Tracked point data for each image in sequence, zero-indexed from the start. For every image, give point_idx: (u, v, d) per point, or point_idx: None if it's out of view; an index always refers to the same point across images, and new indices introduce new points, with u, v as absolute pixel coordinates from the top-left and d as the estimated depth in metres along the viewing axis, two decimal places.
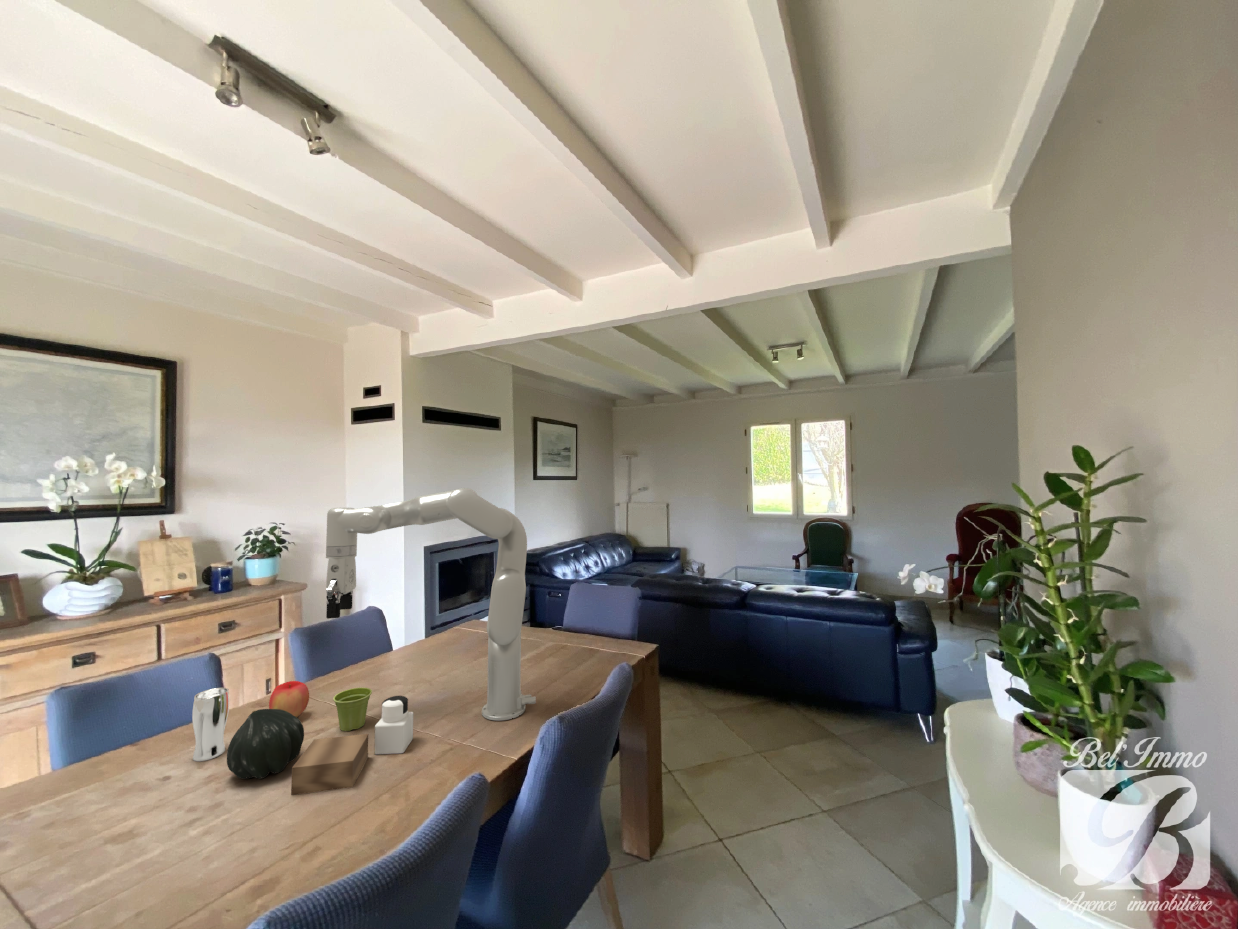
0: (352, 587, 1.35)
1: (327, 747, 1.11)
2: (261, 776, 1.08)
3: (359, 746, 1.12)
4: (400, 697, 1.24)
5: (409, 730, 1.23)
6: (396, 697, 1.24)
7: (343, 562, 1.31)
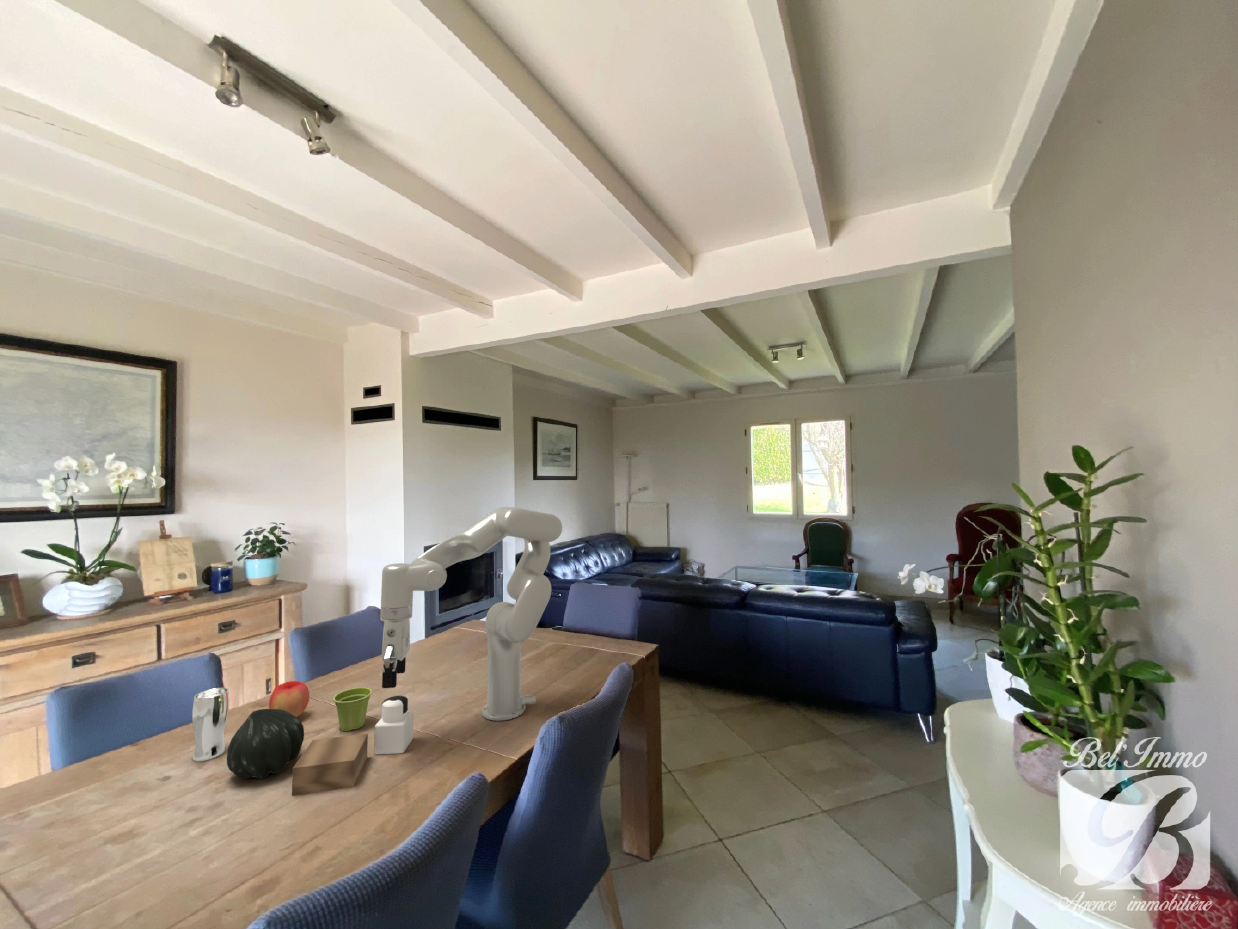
0: (407, 651, 1.25)
1: (327, 747, 1.11)
2: (261, 776, 1.08)
3: (359, 745, 1.12)
4: (400, 697, 1.24)
5: (409, 730, 1.23)
6: (396, 697, 1.24)
7: (400, 626, 1.20)
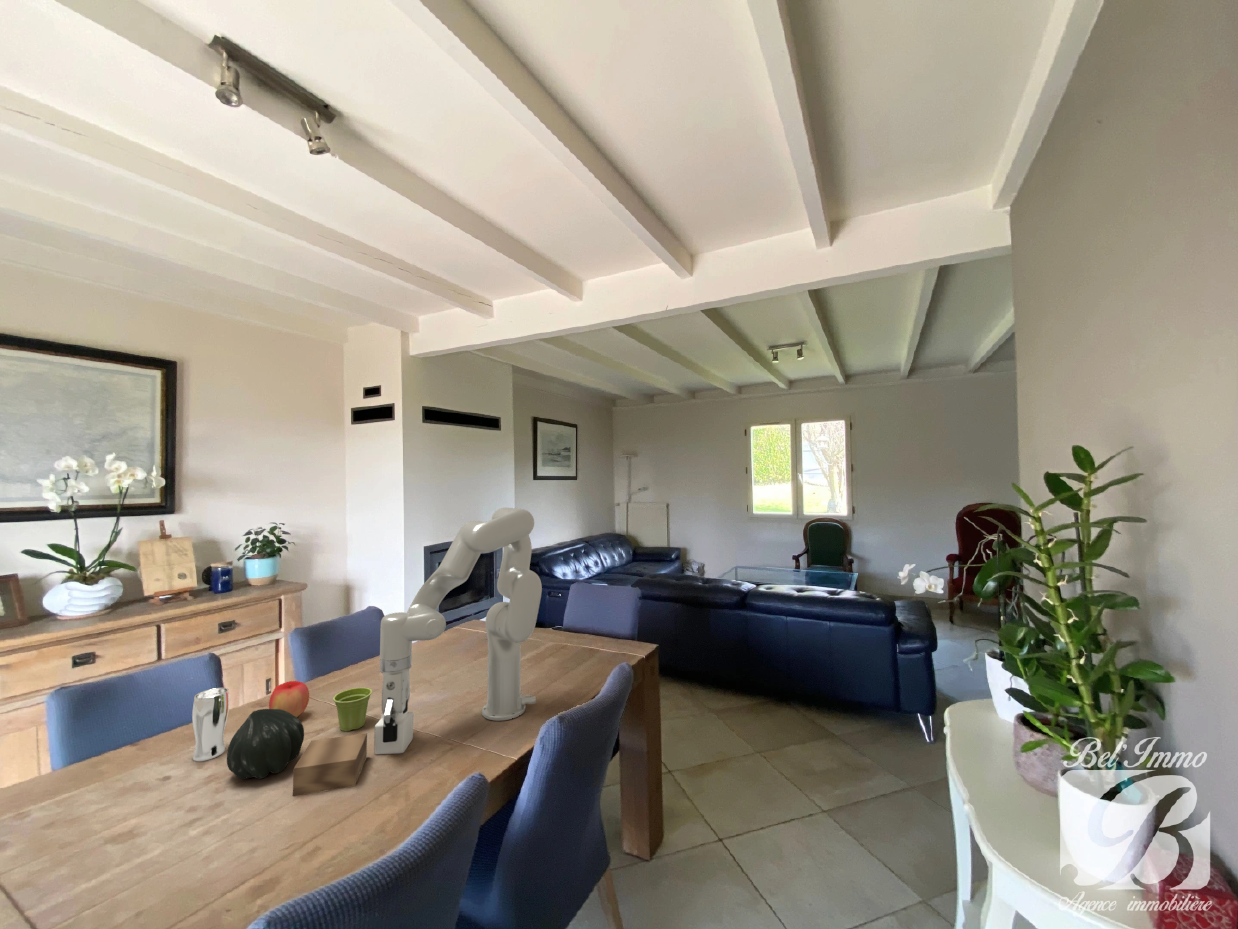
0: None
1: (326, 748, 1.11)
2: (261, 776, 1.08)
3: (359, 745, 1.12)
4: None
5: (409, 730, 1.23)
6: None
7: (400, 678, 1.19)
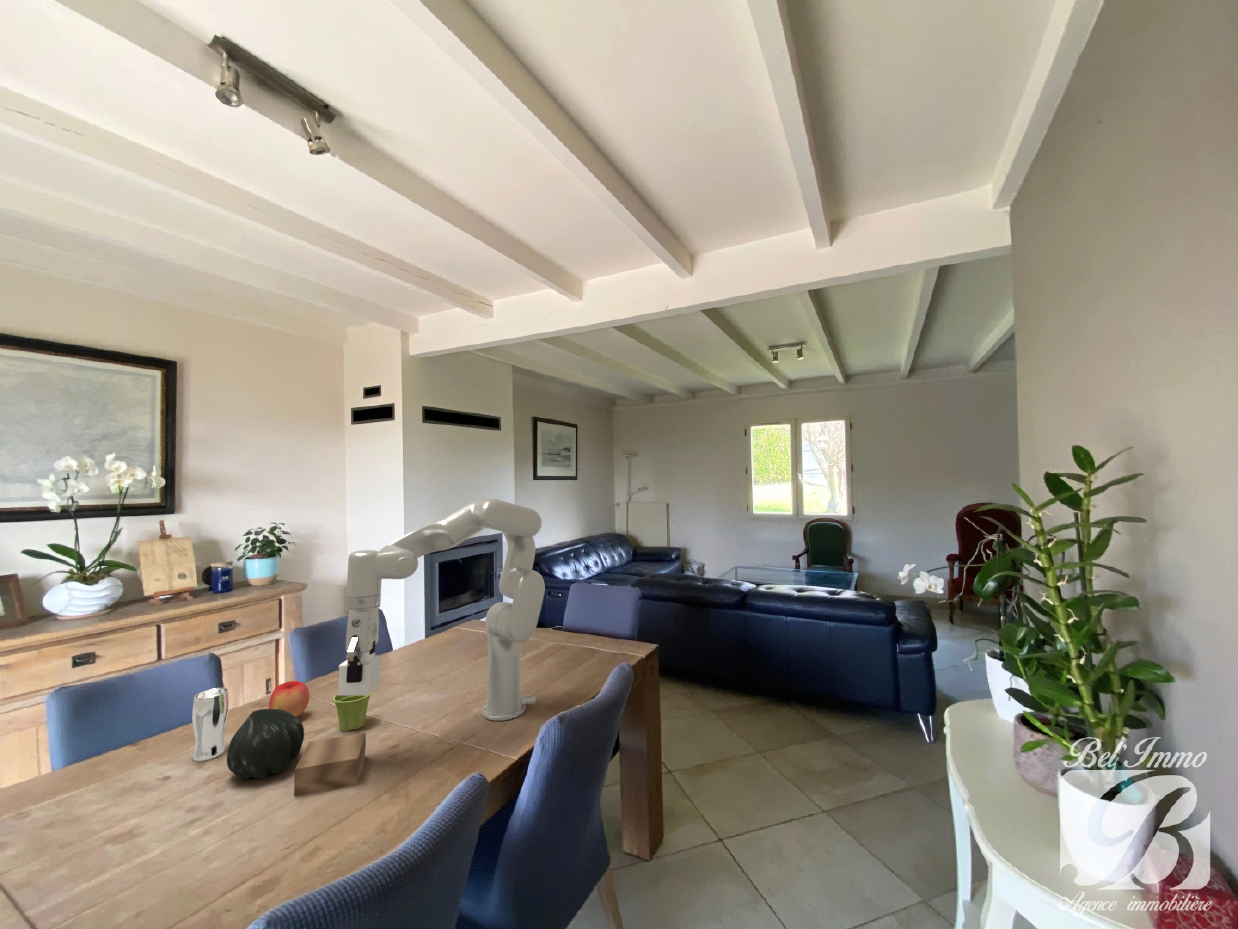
0: None
1: (326, 748, 1.11)
2: (261, 776, 1.08)
3: (359, 744, 1.13)
4: None
5: (376, 673, 1.17)
6: None
7: (366, 616, 1.13)
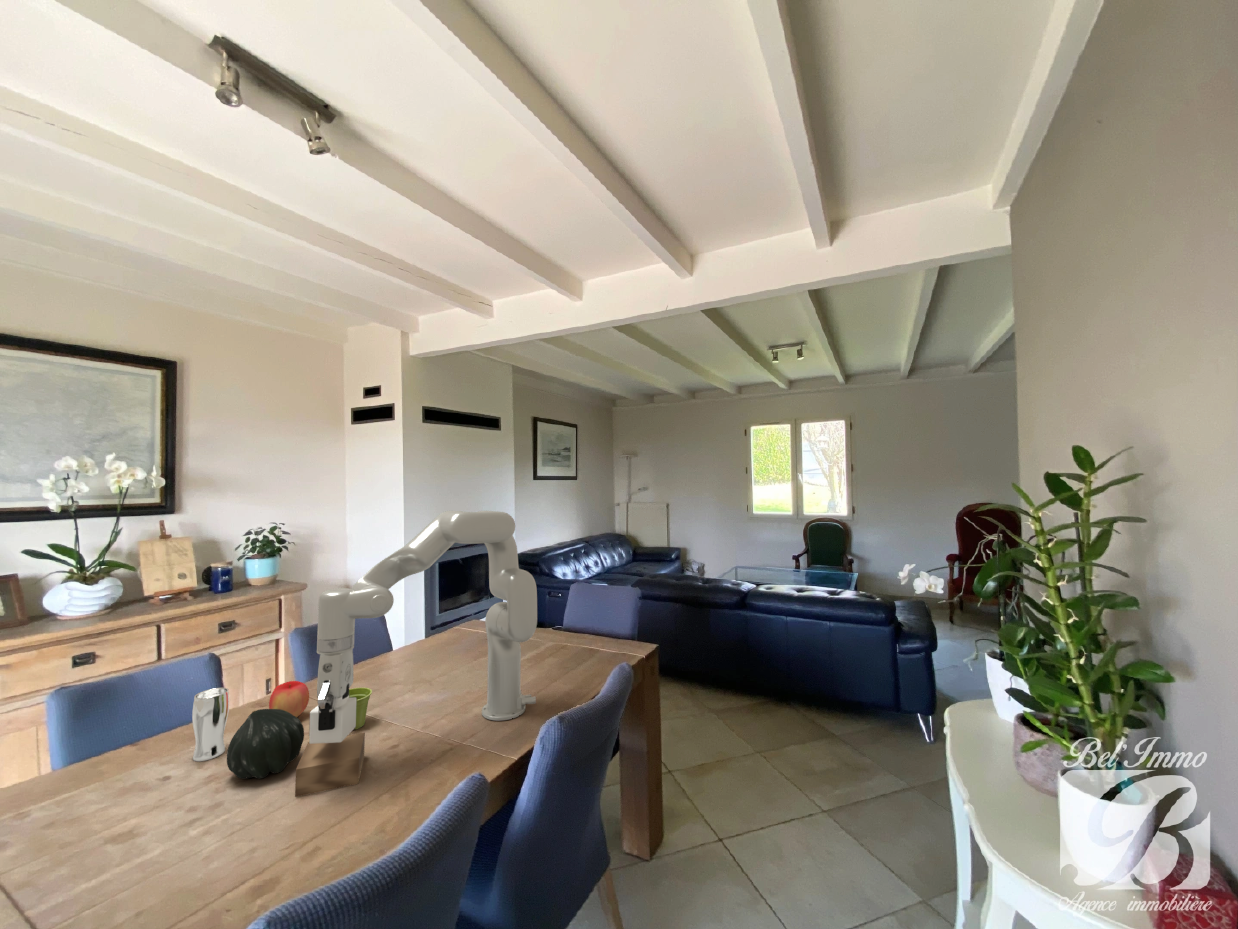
0: (349, 685, 1.13)
1: (326, 748, 1.11)
2: (261, 776, 1.08)
3: (359, 744, 1.13)
4: None
5: (350, 717, 1.11)
6: None
7: (338, 659, 1.08)
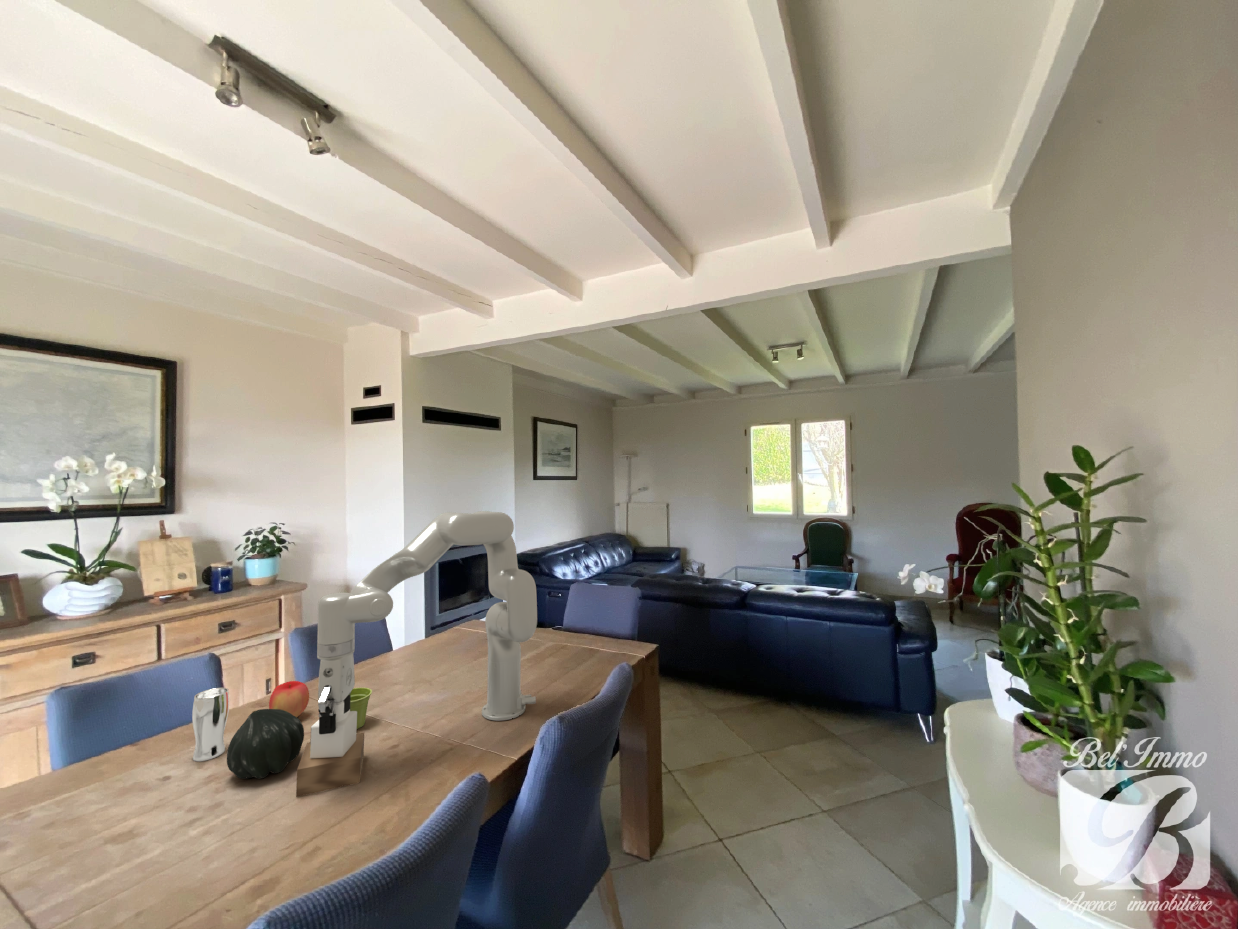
0: (350, 689, 1.13)
1: None
2: (261, 776, 1.08)
3: (359, 743, 1.13)
4: None
5: (351, 731, 1.11)
6: None
7: (338, 664, 1.08)
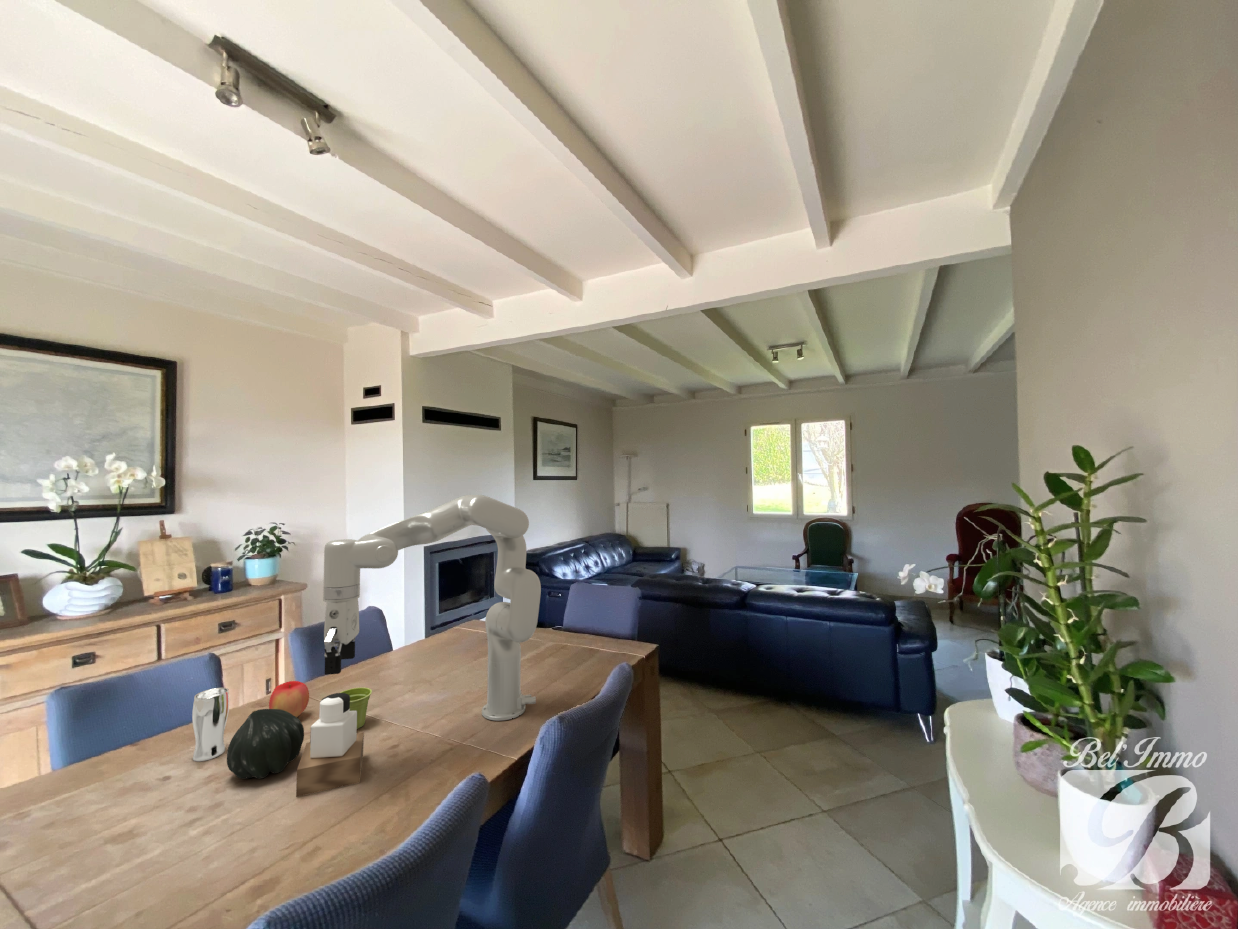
0: (355, 634, 1.14)
1: None
2: (261, 776, 1.08)
3: (359, 743, 1.13)
4: (341, 694, 1.12)
5: (351, 731, 1.11)
6: (337, 694, 1.12)
7: (344, 606, 1.09)
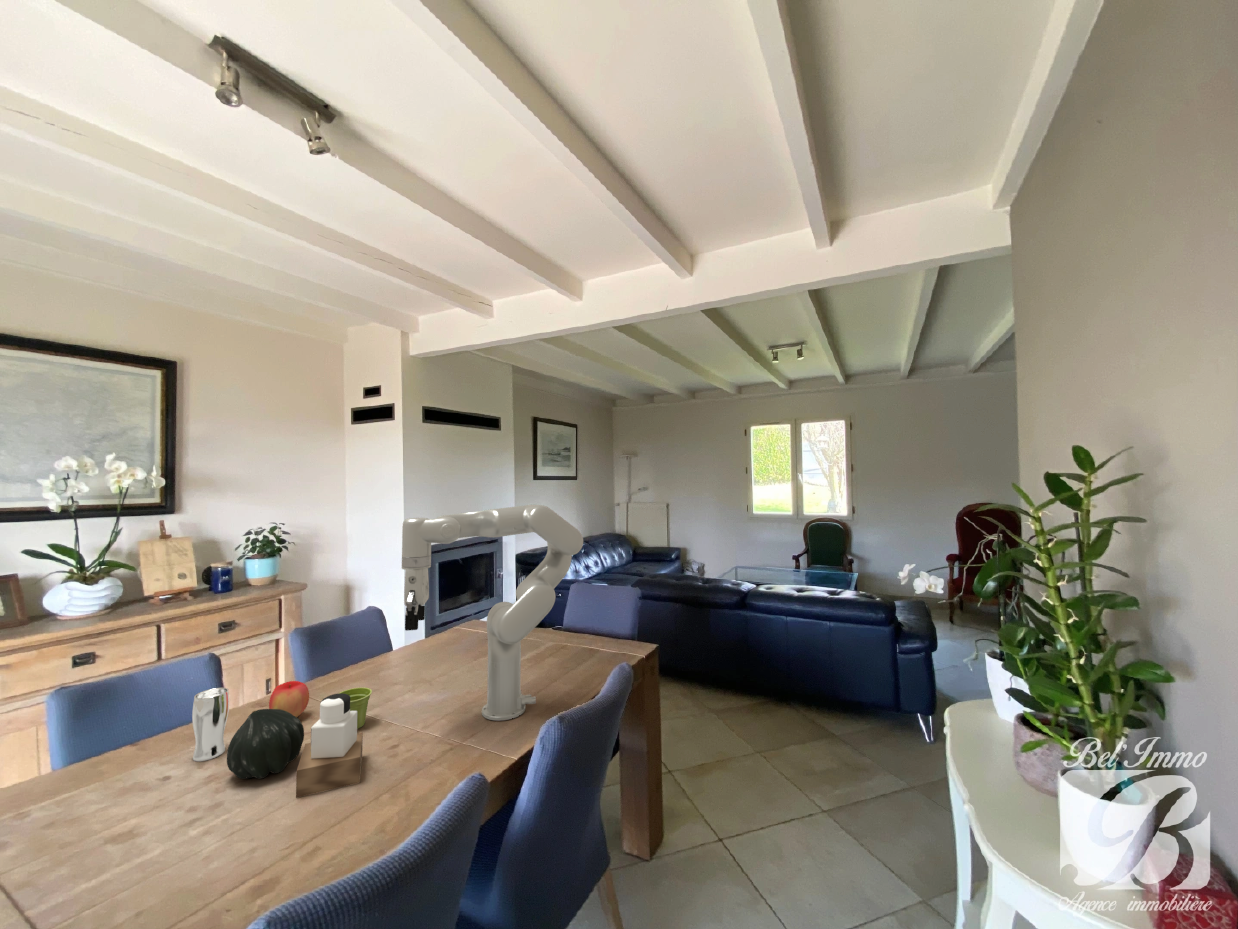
0: (427, 598, 1.34)
1: None
2: (261, 776, 1.08)
3: (358, 743, 1.13)
4: (341, 695, 1.12)
5: (351, 731, 1.11)
6: (337, 695, 1.12)
7: (420, 573, 1.29)
